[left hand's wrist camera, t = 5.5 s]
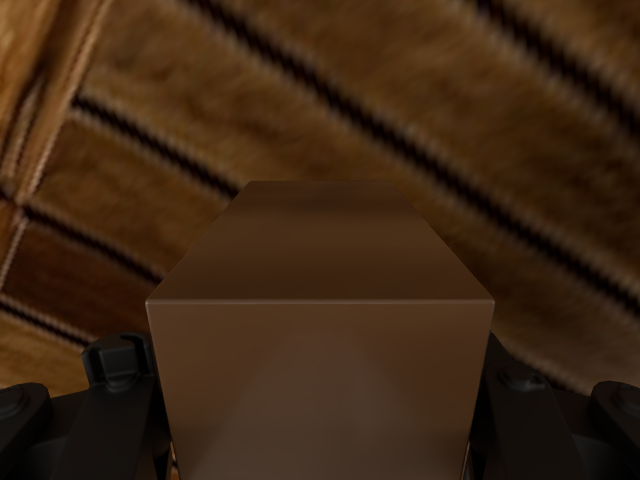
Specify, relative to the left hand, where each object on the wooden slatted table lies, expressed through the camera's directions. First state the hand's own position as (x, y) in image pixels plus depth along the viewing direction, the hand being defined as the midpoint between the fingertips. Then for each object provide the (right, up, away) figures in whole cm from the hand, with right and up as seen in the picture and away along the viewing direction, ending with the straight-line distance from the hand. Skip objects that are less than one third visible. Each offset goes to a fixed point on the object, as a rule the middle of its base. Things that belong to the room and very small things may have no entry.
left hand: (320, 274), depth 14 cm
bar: (0, -8, +3) cm, 8 cm away
